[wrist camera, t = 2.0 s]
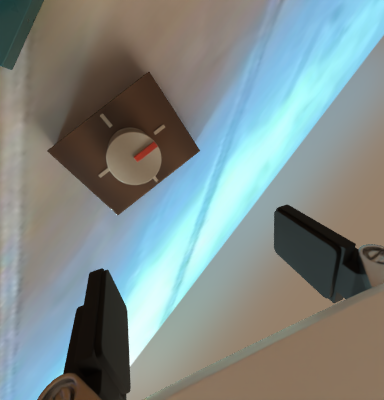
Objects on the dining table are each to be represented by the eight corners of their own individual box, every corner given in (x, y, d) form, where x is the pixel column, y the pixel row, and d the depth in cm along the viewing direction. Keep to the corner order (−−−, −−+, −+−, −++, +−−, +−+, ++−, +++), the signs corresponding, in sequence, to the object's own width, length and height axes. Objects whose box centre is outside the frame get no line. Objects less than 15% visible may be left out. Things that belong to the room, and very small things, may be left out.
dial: (129, 181, 25) (132, 196, 20) (97, 146, 22) (92, 155, 18) (162, 154, 25) (172, 164, 20) (134, 117, 22) (138, 120, 18)
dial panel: (117, 205, 28) (117, 216, 26) (54, 146, 24) (46, 151, 21) (192, 146, 29) (200, 151, 26) (145, 75, 24) (149, 71, 21)
